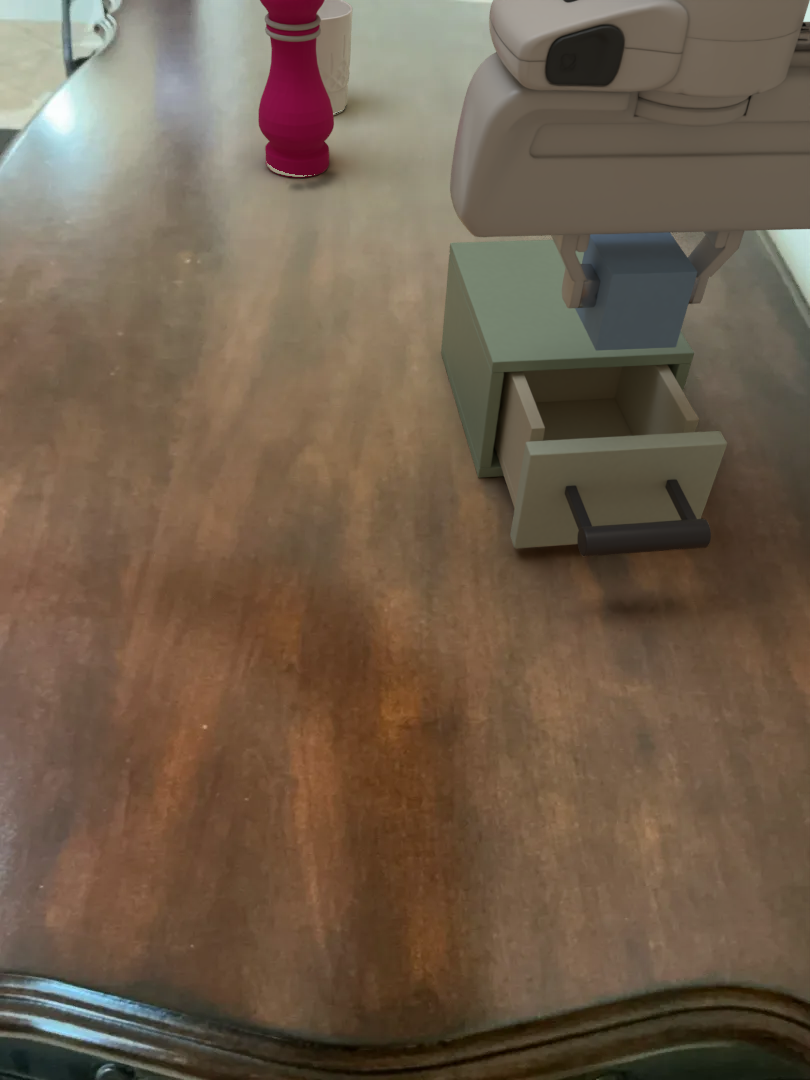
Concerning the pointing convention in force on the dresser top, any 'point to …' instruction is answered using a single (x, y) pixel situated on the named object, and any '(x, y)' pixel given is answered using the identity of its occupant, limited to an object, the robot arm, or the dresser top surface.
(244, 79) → the dresser top surface
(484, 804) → the dresser top surface
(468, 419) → the green drawer cabinet
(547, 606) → the dresser top surface
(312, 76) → the pepper mill
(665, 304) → the slate blue block
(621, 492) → the drawer
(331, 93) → the white cup
